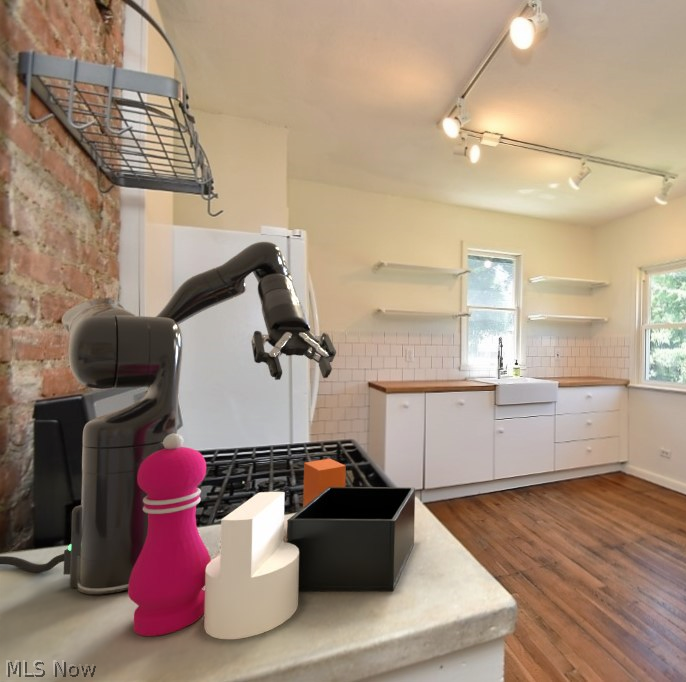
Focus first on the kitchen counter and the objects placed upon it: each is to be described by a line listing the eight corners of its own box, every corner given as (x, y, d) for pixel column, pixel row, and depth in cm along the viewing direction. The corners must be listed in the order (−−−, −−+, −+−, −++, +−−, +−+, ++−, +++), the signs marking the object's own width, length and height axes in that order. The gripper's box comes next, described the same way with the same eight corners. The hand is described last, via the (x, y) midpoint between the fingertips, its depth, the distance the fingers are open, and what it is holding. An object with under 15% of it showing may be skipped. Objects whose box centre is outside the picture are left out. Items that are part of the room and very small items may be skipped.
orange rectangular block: (317, 533, 71) (318, 470, 71) (302, 522, 76) (303, 462, 76) (344, 526, 74) (345, 465, 74) (328, 515, 79) (330, 458, 79)
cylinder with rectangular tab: (279, 636, 46) (282, 519, 46) (184, 642, 45) (187, 521, 45) (309, 589, 55) (311, 490, 55) (230, 592, 54) (233, 492, 54)
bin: (285, 591, 54) (287, 520, 55) (327, 544, 67) (328, 486, 68) (393, 591, 55) (394, 520, 55) (414, 544, 68) (415, 487, 68)
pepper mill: (167, 644, 44) (170, 441, 45) (108, 635, 46) (111, 439, 46) (227, 603, 52) (228, 428, 52) (174, 596, 53) (176, 426, 53)
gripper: (315, 330, 98) (335, 387, 90) (241, 327, 88) (256, 391, 80) (325, 305, 94) (347, 361, 86) (249, 299, 85) (266, 362, 76)
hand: (303, 376), depth 83 cm, fingers open, 8 cm apart
